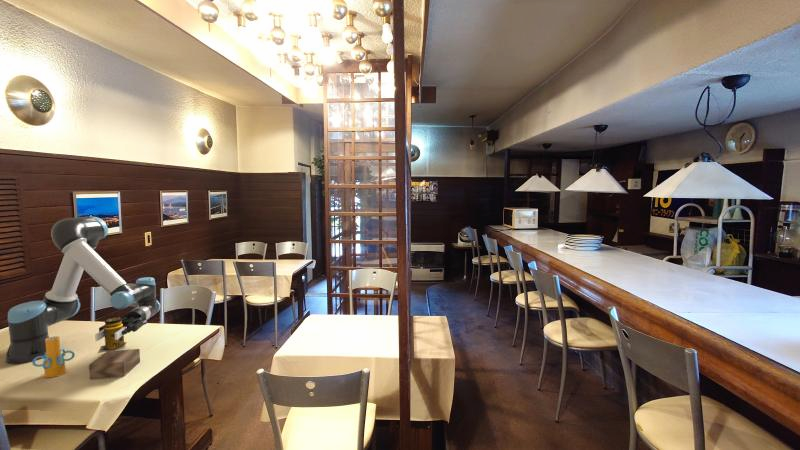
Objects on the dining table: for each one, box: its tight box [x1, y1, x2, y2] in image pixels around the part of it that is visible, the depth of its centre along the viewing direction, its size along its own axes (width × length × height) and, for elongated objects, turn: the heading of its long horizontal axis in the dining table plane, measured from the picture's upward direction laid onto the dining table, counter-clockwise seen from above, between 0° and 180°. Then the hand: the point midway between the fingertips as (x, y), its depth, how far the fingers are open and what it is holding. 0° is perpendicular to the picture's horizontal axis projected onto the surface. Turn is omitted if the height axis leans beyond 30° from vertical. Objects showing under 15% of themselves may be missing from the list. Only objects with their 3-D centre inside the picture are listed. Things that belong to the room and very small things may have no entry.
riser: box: [88, 348, 141, 380], centre depth 145 cm, size 12×12×6 cm
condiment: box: [97, 317, 127, 354], centre depth 144 cm, size 7×8×12 cm
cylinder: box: [31, 335, 76, 378], centre depth 141 cm, size 12×10×15 cm
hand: (106, 337), depth 139 cm, fingers closed on condiment, 6 cm apart
